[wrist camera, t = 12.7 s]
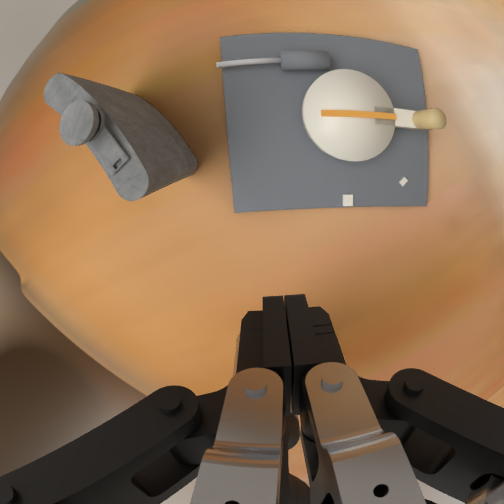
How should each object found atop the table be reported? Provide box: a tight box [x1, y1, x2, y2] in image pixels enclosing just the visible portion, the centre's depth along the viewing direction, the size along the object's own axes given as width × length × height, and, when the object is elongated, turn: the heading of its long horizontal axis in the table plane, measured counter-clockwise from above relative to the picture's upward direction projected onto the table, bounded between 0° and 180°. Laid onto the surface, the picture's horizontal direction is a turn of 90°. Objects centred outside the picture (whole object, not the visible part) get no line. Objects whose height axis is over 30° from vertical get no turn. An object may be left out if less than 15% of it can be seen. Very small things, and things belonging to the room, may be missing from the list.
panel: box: [220, 33, 428, 213], centre depth 32 cm, size 25×29×2 cm
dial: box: [301, 69, 446, 162], centre depth 27 cm, size 17×12×7 cm
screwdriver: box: [216, 50, 330, 71], centre depth 28 cm, size 14×3×3 cm
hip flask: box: [44, 73, 198, 201], centre depth 25 cm, size 16×4×20 cm, turn 40°
